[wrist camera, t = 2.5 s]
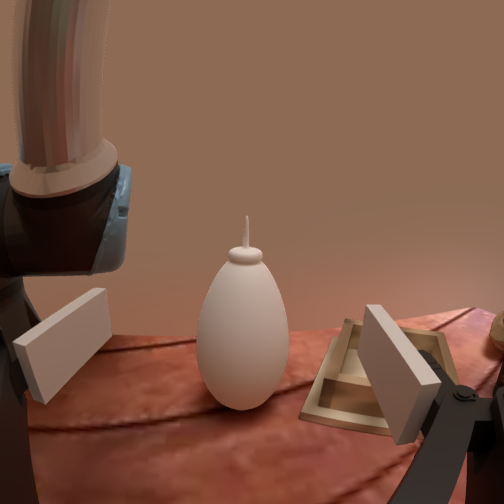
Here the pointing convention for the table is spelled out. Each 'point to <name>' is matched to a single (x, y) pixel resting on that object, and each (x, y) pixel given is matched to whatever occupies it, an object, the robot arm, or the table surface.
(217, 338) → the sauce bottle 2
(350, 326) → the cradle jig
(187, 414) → the table surface
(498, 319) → the oil lamp
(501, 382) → the coffee mug
